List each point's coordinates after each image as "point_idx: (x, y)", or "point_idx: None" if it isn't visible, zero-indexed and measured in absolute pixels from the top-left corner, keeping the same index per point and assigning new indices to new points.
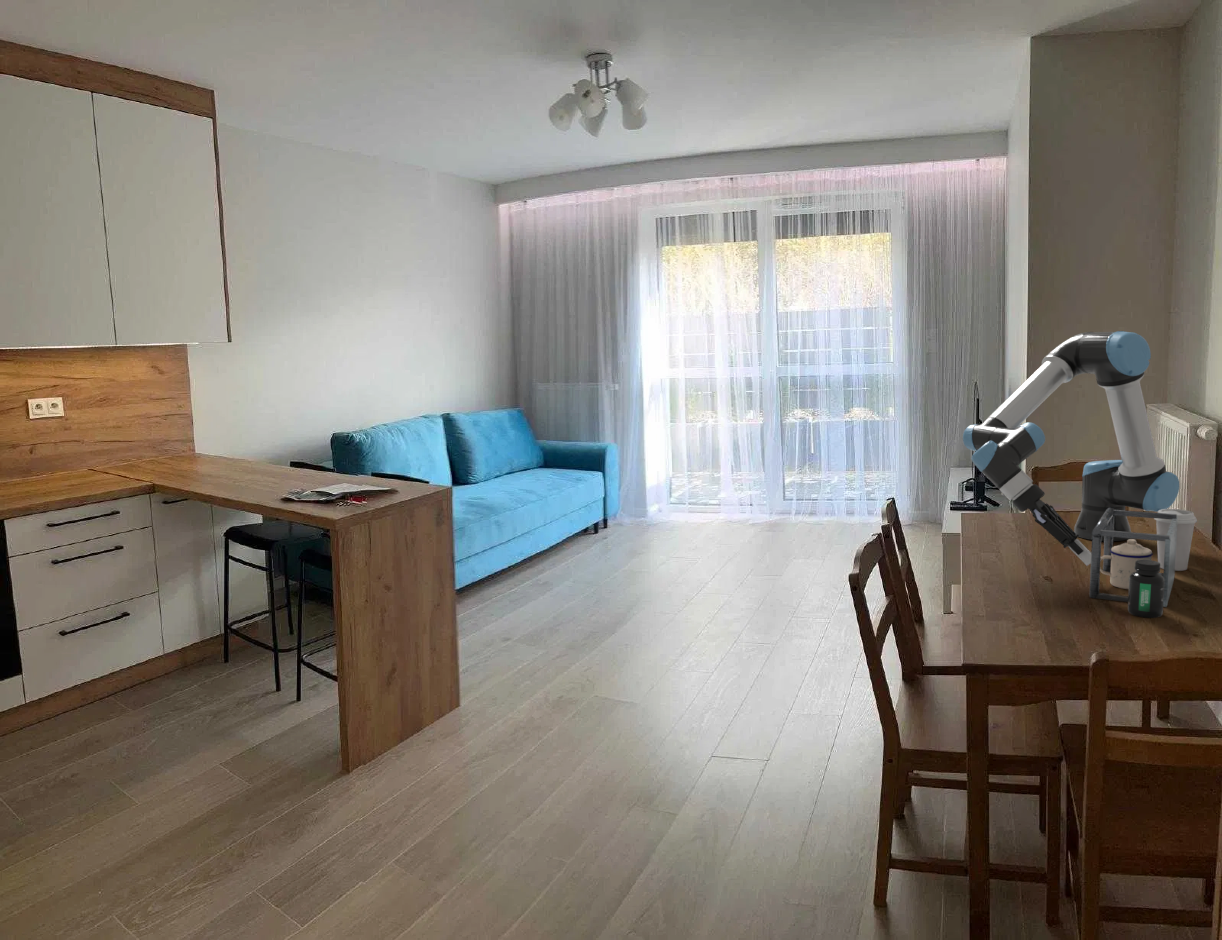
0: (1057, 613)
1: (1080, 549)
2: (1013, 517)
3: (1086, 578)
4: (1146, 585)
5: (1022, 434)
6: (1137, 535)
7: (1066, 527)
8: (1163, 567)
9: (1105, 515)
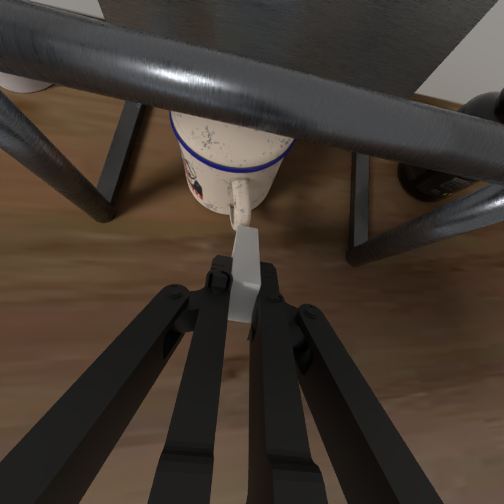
0: (499, 332)
1: (275, 271)
2: None
3: (191, 266)
4: None
5: None
6: None
7: (201, 341)
8: (45, 84)
9: (184, 50)
